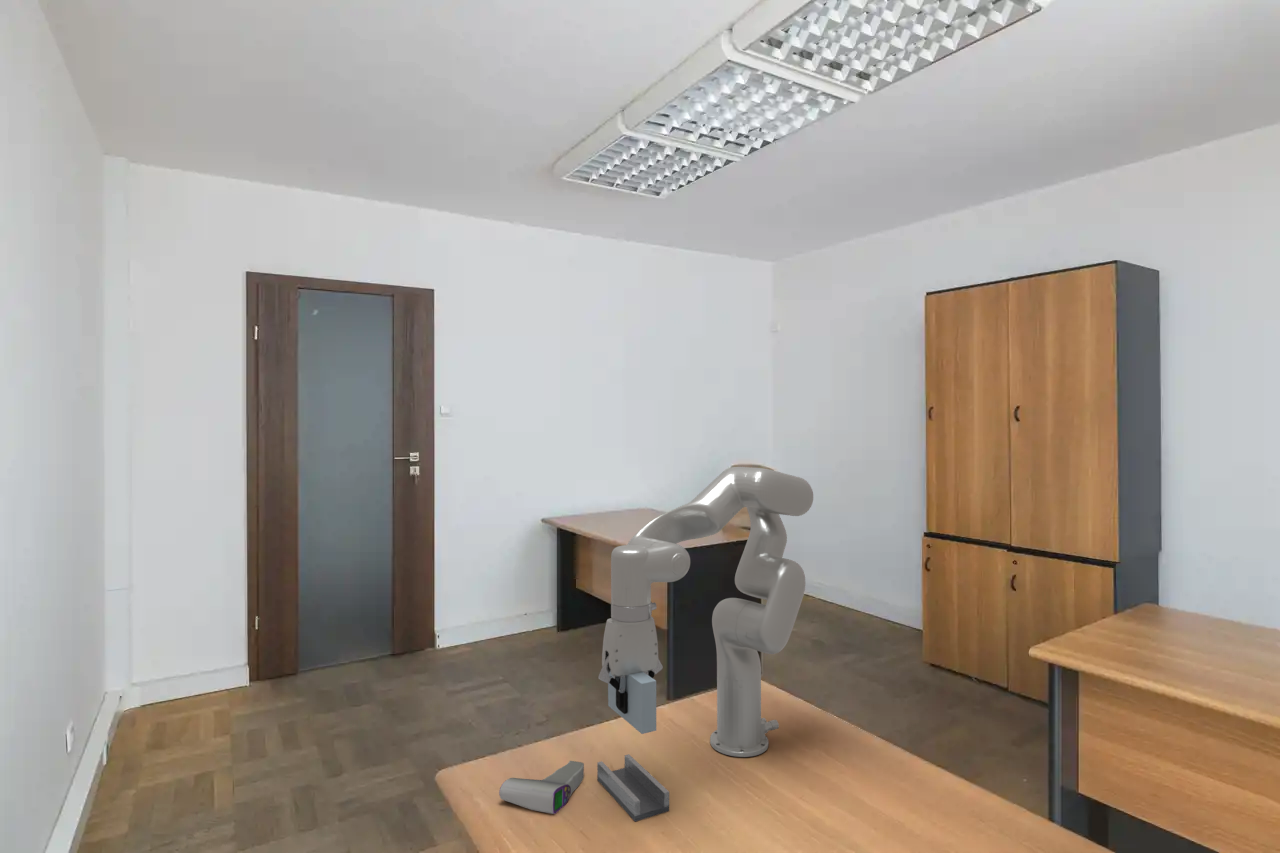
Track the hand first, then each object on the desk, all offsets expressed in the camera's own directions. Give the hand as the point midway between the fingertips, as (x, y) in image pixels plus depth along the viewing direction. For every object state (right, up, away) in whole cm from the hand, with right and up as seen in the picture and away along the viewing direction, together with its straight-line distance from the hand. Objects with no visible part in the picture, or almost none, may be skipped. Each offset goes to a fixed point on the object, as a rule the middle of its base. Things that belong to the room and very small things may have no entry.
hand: (631, 708), depth 129 cm
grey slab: (0, -2, 0) cm, 2 cm away
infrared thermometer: (-17, -17, +2) cm, 24 cm away
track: (0, -17, 0) cm, 17 cm away
